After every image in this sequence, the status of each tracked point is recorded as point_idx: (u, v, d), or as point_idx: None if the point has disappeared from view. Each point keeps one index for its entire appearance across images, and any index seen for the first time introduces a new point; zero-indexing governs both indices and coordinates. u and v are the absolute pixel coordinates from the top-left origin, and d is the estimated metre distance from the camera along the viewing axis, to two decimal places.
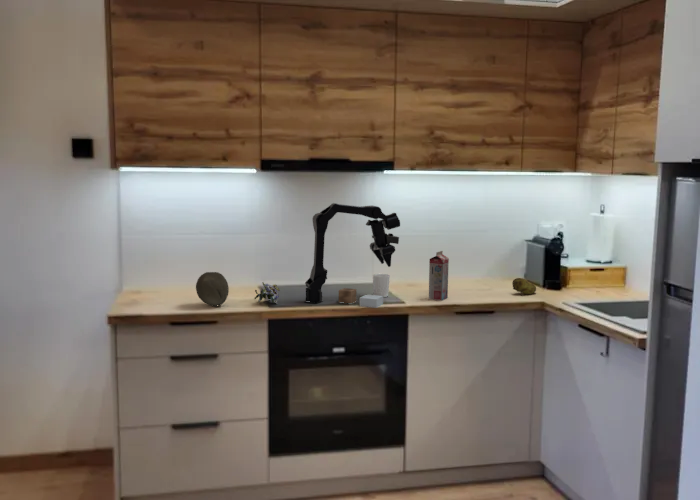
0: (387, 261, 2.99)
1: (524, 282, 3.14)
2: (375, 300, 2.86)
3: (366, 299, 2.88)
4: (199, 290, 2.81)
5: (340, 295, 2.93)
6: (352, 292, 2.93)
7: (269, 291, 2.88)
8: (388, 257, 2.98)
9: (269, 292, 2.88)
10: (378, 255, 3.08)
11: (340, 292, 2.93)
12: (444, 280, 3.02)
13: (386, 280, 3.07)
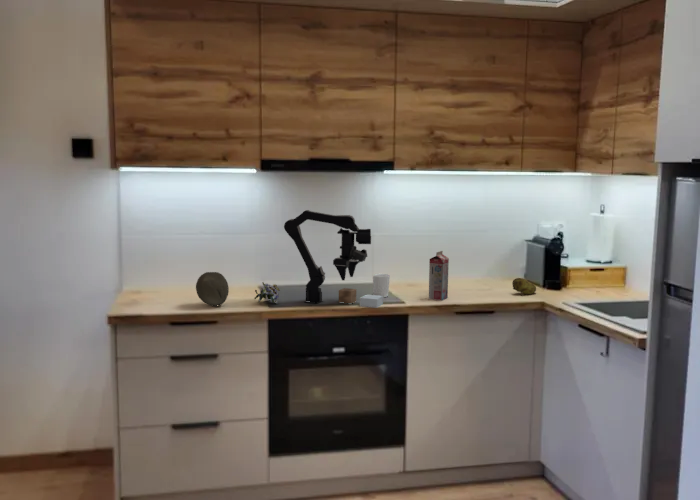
0: (341, 274, 2.89)
1: (524, 282, 3.14)
2: (375, 300, 2.86)
3: (367, 299, 2.88)
4: (199, 290, 2.81)
5: (340, 295, 2.93)
6: (352, 292, 2.93)
7: (269, 291, 2.88)
8: (342, 270, 2.88)
9: (269, 292, 2.88)
10: (349, 267, 2.99)
11: (340, 292, 2.93)
12: (444, 280, 3.02)
13: (386, 280, 3.07)
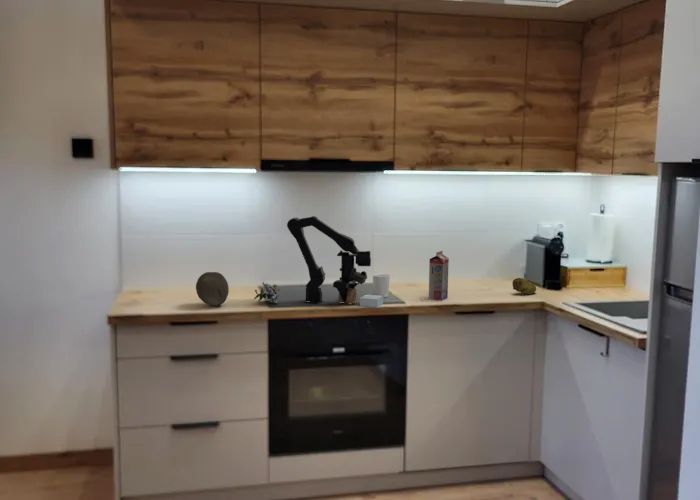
0: (342, 295, 2.92)
1: (524, 282, 3.14)
2: (376, 300, 2.86)
3: (367, 299, 2.87)
4: (199, 290, 2.81)
5: (340, 295, 2.93)
6: (352, 292, 2.93)
7: (269, 291, 2.88)
8: (343, 292, 2.91)
9: (269, 292, 2.88)
10: None
11: None
12: (444, 280, 3.02)
13: (386, 280, 3.07)
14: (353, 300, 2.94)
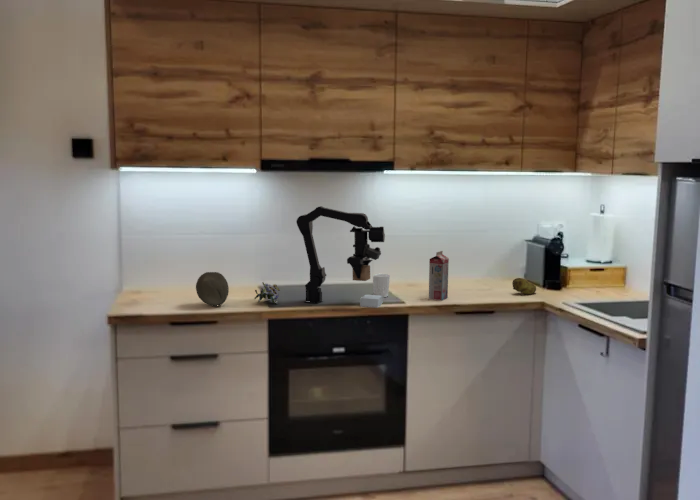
0: (356, 272, 2.88)
1: (524, 282, 3.14)
2: (376, 300, 2.86)
3: (367, 299, 2.87)
4: (199, 290, 2.81)
5: None
6: (366, 268, 2.89)
7: (269, 291, 2.88)
8: (357, 268, 2.87)
9: (269, 292, 2.88)
10: None
11: None
12: (444, 280, 3.02)
13: (386, 280, 3.07)
14: (367, 277, 2.90)
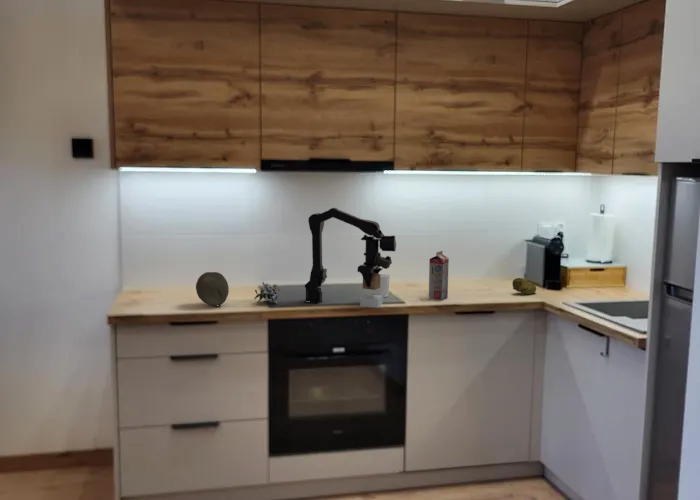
0: (366, 280, 2.86)
1: (524, 282, 3.14)
2: (376, 300, 2.86)
3: (367, 299, 2.87)
4: (199, 290, 2.81)
5: (364, 280, 2.88)
6: (376, 277, 2.87)
7: (269, 291, 2.88)
8: (368, 277, 2.86)
9: (269, 292, 2.88)
10: None
11: None
12: (444, 280, 3.02)
13: (386, 280, 3.07)
14: (377, 285, 2.89)
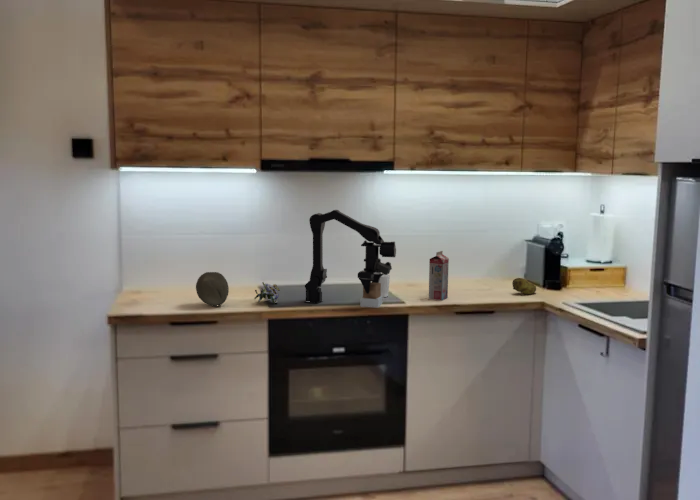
0: (365, 287, 2.85)
1: (524, 282, 3.14)
2: (376, 300, 2.86)
3: (368, 300, 2.87)
4: (199, 290, 2.81)
5: (364, 289, 2.88)
6: (377, 286, 2.88)
7: (269, 291, 2.88)
8: (366, 283, 2.85)
9: (269, 292, 2.88)
10: (373, 280, 2.95)
11: None
12: (444, 280, 3.02)
13: (386, 280, 3.07)
14: (378, 294, 2.89)
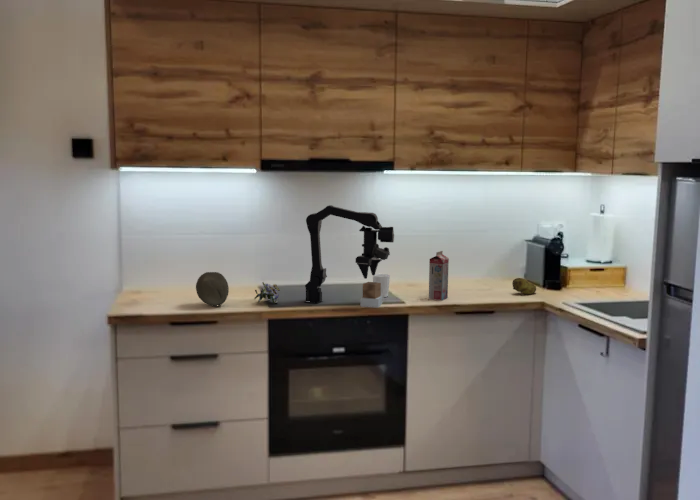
0: (363, 272, 2.86)
1: (524, 282, 3.14)
2: (377, 300, 2.86)
3: (368, 300, 2.87)
4: (199, 290, 2.81)
5: (364, 289, 2.89)
6: (376, 286, 2.88)
7: (269, 291, 2.88)
8: (364, 268, 2.85)
9: (269, 292, 2.88)
10: (371, 265, 2.95)
11: (364, 286, 2.89)
12: (444, 280, 3.02)
13: (386, 280, 3.07)
14: (377, 294, 2.89)
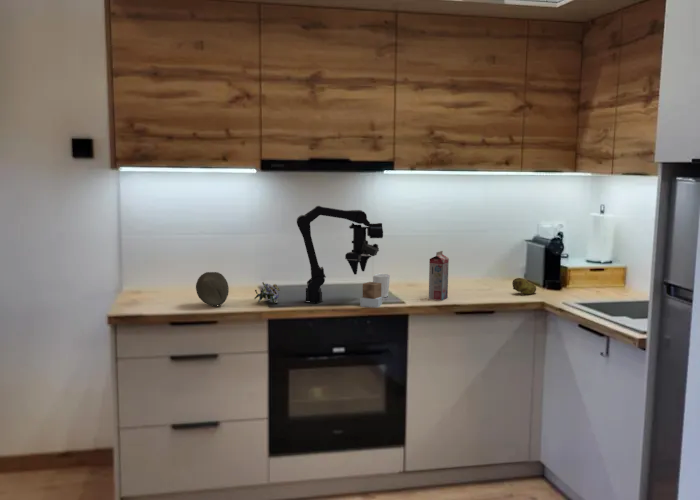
0: (353, 268, 2.92)
1: (524, 282, 3.14)
2: (376, 300, 2.86)
3: (368, 300, 2.87)
4: (199, 290, 2.81)
5: (364, 289, 2.89)
6: (376, 286, 2.87)
7: (269, 291, 2.88)
8: (354, 264, 2.91)
9: (269, 292, 2.88)
10: (361, 261, 3.02)
11: (364, 286, 2.89)
12: (444, 280, 3.02)
13: (386, 280, 3.07)
14: (377, 294, 2.89)
